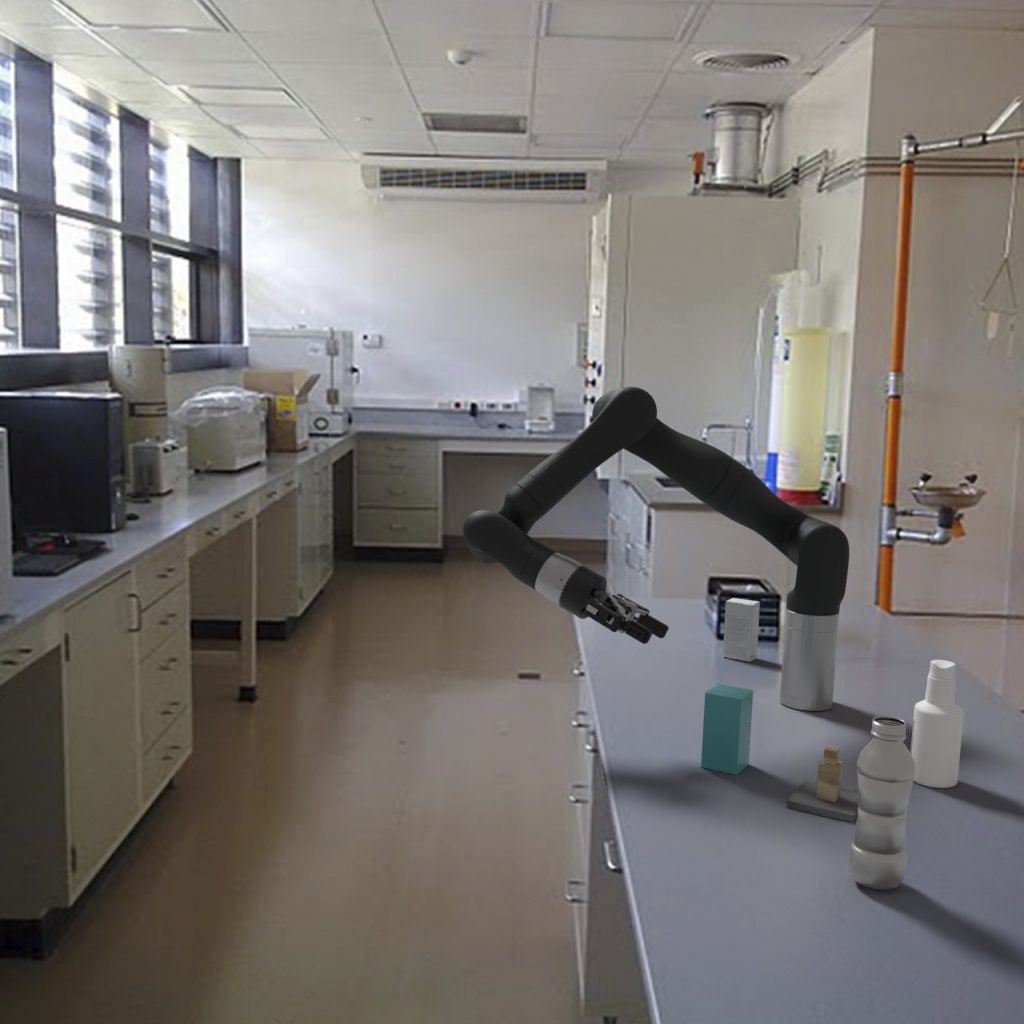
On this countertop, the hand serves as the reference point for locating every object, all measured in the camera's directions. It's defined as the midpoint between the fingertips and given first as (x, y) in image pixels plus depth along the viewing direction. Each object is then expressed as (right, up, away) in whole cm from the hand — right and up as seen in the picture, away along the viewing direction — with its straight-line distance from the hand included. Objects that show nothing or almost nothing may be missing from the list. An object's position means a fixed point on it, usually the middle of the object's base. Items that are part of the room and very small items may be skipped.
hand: (658, 635), depth 172 cm
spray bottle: (+40, -21, -6) cm, 46 cm away
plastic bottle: (+21, -25, -39) cm, 51 cm away
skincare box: (+25, -11, +59) cm, 65 cm away
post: (+22, -22, -16) cm, 34 cm away
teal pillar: (+10, -19, -2) cm, 22 cm away
